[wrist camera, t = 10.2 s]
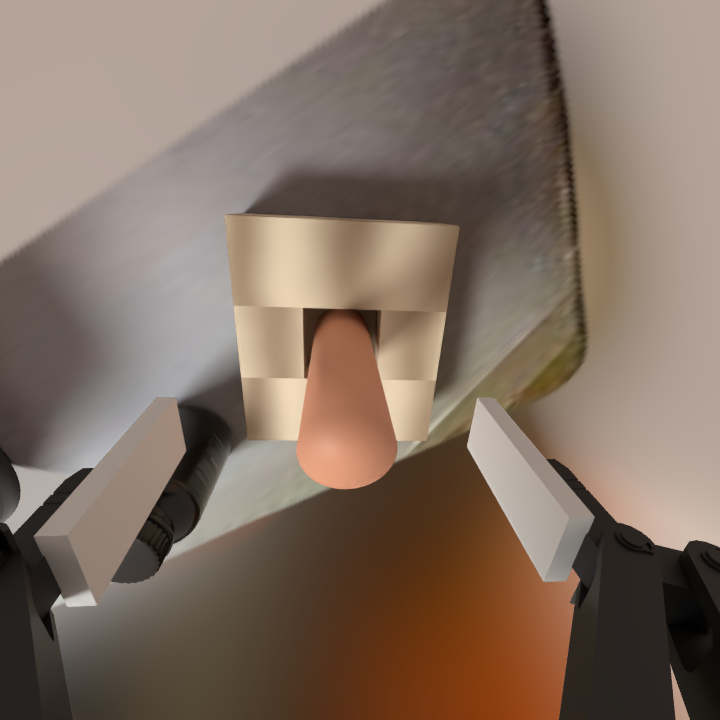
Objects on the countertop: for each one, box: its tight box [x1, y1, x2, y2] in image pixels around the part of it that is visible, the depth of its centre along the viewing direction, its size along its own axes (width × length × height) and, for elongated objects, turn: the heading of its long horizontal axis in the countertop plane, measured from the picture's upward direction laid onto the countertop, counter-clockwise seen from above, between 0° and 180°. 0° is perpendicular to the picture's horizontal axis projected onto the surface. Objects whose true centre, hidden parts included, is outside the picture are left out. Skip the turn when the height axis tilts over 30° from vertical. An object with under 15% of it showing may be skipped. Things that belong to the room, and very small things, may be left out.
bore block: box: [224, 213, 460, 441], centre depth 26 cm, size 14×16×4 cm
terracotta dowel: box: [297, 309, 397, 489], centre depth 20 cm, size 4×4×14 cm
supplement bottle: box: [111, 407, 232, 583], centre depth 26 cm, size 7×7×12 cm
